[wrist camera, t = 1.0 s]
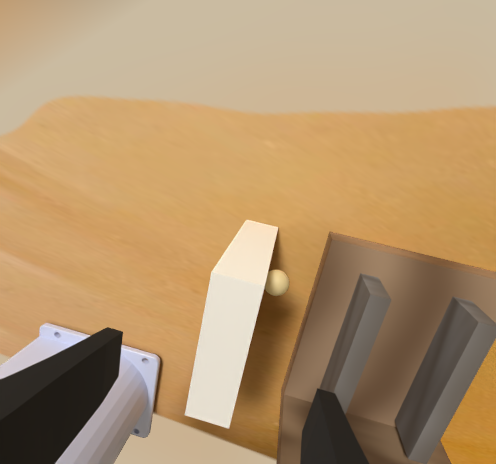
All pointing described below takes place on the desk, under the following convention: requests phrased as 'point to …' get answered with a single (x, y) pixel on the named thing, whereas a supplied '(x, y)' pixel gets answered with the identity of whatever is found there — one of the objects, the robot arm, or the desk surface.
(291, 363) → the brown base with rails
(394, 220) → the desk surface
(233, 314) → the cabinet door
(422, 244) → the desk surface
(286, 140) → the desk surface
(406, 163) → the desk surface
